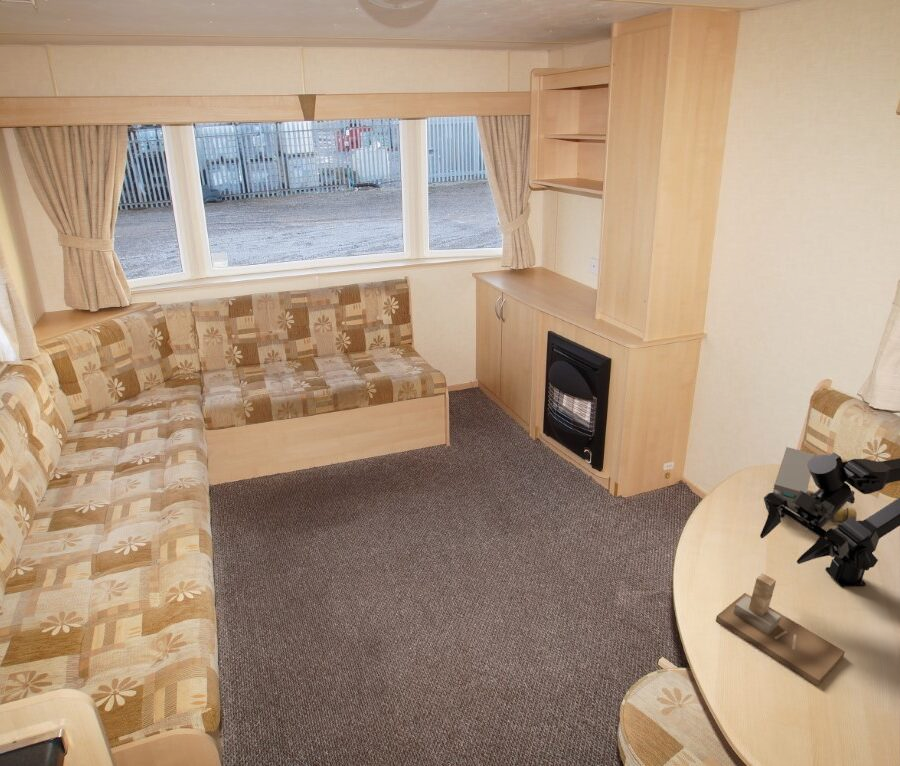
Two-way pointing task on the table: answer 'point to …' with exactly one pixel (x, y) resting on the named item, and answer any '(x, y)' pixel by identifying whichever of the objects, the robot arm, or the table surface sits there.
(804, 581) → the table surface
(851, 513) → the gavel
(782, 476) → the grey rectangular box
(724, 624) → the walnut board
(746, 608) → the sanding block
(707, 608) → the table surface
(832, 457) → the robot arm
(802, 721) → the table surface
